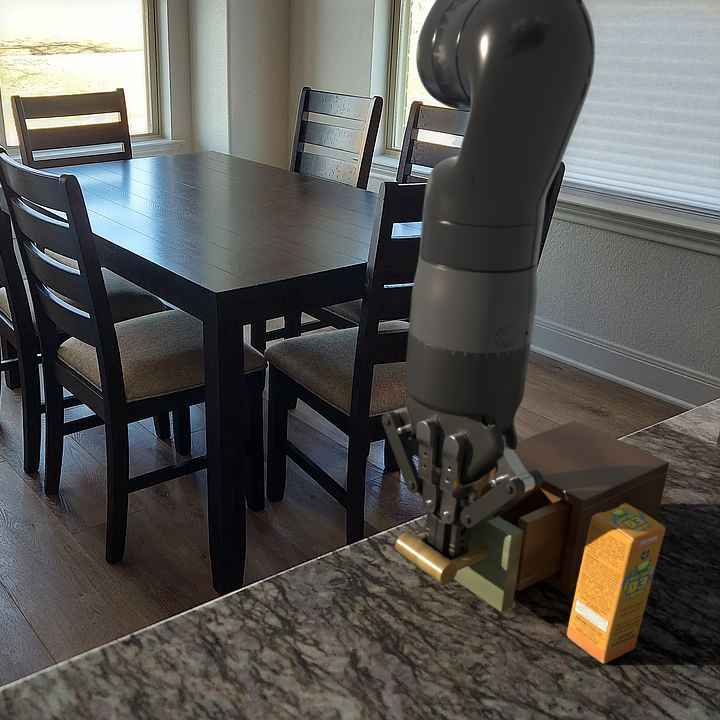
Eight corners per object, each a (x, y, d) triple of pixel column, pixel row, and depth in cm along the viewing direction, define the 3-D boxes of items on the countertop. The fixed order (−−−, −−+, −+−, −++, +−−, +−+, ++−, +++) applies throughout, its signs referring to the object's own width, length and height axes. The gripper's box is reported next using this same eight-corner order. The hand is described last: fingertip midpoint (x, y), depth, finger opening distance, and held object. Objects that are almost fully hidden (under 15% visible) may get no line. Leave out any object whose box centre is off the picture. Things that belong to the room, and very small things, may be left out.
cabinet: (567, 596, 62) (583, 500, 59) (479, 539, 69) (489, 451, 66) (651, 552, 67) (669, 462, 64) (561, 503, 74) (574, 420, 71)
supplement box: (606, 669, 55) (631, 538, 52) (564, 637, 58) (585, 512, 55) (640, 651, 57) (667, 524, 53) (598, 622, 60) (621, 498, 56)
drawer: (451, 638, 57) (459, 559, 55) (378, 581, 63) (383, 507, 60) (584, 570, 64) (597, 497, 61) (507, 524, 70) (516, 456, 67)
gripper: (598, 348, 50) (556, 590, 57) (438, 291, 61) (418, 502, 67) (510, 373, 47) (476, 630, 53) (356, 308, 57) (343, 530, 63)
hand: (444, 558), depth 60 cm, fingers closed
